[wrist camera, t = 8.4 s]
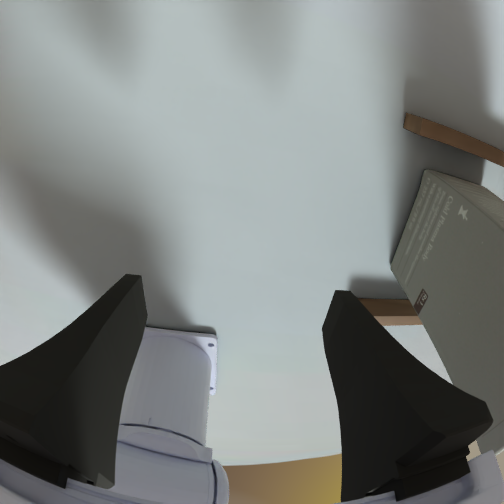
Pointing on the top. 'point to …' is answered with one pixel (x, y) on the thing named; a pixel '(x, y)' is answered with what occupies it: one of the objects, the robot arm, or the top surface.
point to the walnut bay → (400, 309)
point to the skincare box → (459, 286)
